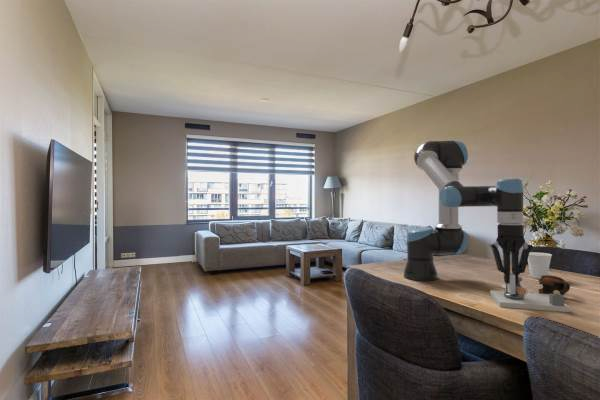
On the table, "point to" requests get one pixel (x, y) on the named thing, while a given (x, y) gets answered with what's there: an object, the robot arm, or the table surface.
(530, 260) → the cup
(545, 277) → the brown animal figurine
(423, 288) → the table surface
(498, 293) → the level board
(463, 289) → the table surface
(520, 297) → the capstan
